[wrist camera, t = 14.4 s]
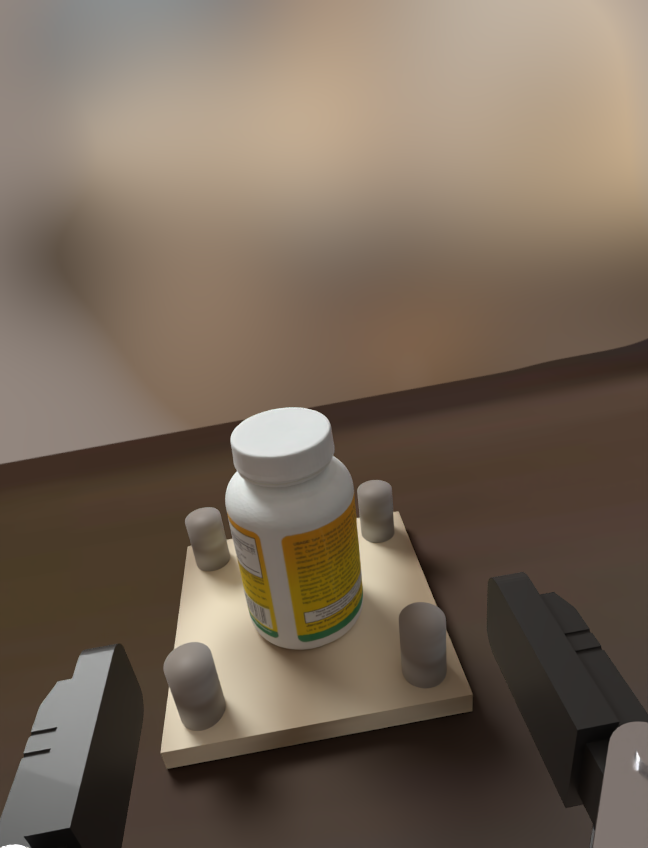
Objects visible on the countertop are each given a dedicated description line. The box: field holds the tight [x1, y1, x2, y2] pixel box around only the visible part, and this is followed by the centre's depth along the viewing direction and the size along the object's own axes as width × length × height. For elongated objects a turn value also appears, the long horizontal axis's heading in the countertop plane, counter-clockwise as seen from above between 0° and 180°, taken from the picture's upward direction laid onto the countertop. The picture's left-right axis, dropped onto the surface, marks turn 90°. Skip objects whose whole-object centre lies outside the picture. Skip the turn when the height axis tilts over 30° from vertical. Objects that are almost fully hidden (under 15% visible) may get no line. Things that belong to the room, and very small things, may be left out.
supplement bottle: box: [225, 407, 363, 650], centre depth 25 cm, size 5×5×10 cm
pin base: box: [161, 480, 473, 769], centre depth 27 cm, size 12×12×4 cm
